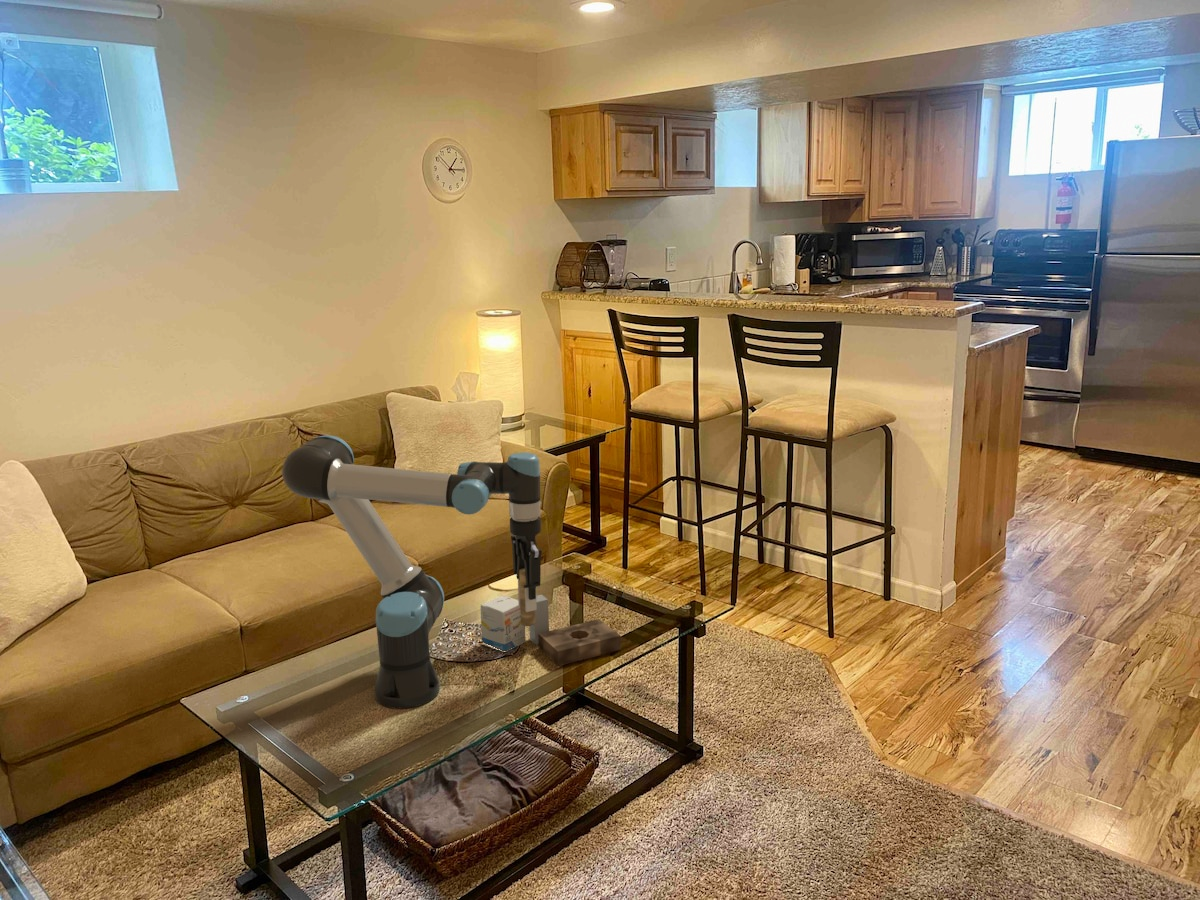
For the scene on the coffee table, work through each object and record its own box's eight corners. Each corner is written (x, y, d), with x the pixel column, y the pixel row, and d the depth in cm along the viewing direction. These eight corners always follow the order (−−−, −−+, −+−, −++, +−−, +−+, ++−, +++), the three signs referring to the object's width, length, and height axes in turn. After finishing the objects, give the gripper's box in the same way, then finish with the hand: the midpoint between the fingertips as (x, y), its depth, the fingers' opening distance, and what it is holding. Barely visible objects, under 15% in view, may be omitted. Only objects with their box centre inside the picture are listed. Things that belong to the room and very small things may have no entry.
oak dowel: (524, 627, 218) (522, 573, 215) (518, 621, 221) (517, 569, 218) (537, 624, 220) (536, 571, 216) (531, 619, 223) (530, 566, 219)
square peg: (535, 644, 235) (534, 602, 233) (529, 639, 239) (527, 597, 236) (549, 641, 237) (547, 599, 234) (543, 635, 241) (541, 594, 238)
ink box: (504, 653, 231) (502, 612, 228) (481, 645, 236) (479, 604, 233) (526, 641, 237) (525, 601, 235) (503, 634, 242) (501, 593, 240)
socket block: (558, 666, 223) (557, 651, 222) (538, 647, 234) (538, 633, 233) (620, 649, 231) (620, 635, 230) (599, 632, 242) (598, 618, 241)
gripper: (553, 524, 208) (555, 616, 214) (525, 505, 223) (528, 593, 228) (524, 529, 205) (526, 622, 211) (497, 510, 219) (500, 598, 225)
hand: (527, 607), depth 219 cm, fingers closed on oak dowel, 3 cm apart
